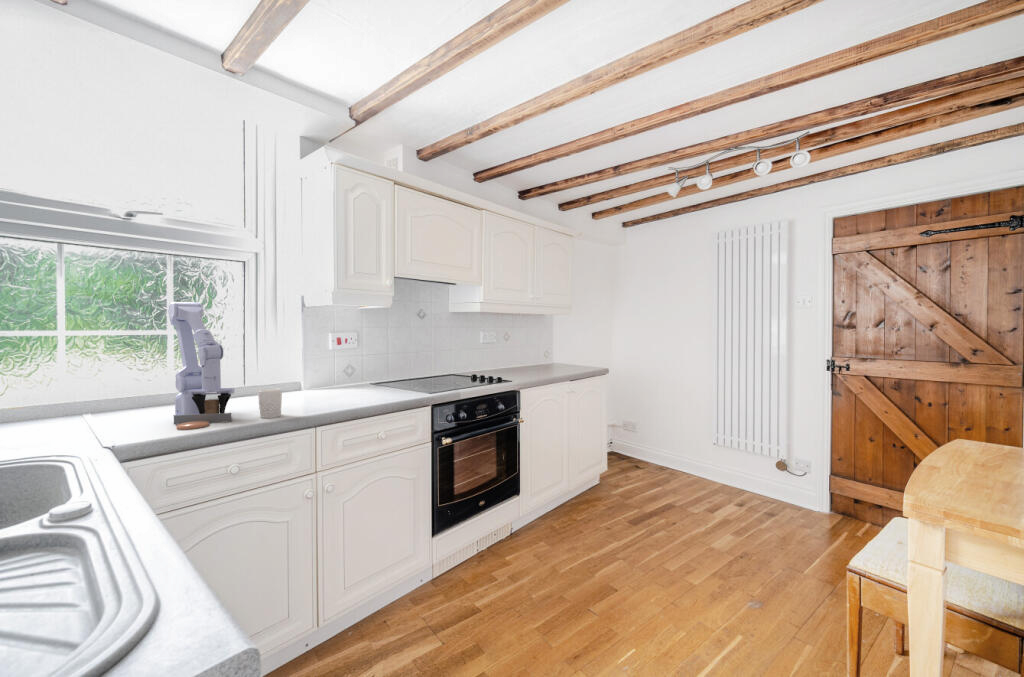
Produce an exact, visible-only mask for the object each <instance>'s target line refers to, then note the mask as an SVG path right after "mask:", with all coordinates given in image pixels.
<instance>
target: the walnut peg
mask: <svg viewBox="0 0 1024 677" xmlns="http://www.w3.org/2000/svg"><path fill="white" fill-rule="evenodd" d="M216 413H220V412H219V400H218V399H217V398H213V399H205V414H216Z"/></svg>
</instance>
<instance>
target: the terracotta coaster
mask: <svg viewBox="0 0 1024 677" xmlns="http://www.w3.org/2000/svg"><path fill="white" fill-rule="evenodd" d="M175 425H176V430H180V431H181V430H182V431H187V430H188V431H189V430H196V429H203V428H206V427H208V426H210V423H209V422H208V421H193V422H186V423H181V424H175Z"/></svg>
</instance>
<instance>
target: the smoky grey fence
mask: <svg viewBox="0 0 1024 677" xmlns="http://www.w3.org/2000/svg"><path fill="white" fill-rule="evenodd" d="M173 415H174V416H173V425H178V424H181V423H186V422H193V421H208V422H209V424H211V423H212V424H213V423H231V422H232V412H227V413H226V412H225V413H220V412H219V413H216V414H189V415H175V414H173Z"/></svg>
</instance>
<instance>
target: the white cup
mask: <svg viewBox="0 0 1024 677" xmlns="http://www.w3.org/2000/svg"><path fill="white" fill-rule="evenodd" d="M282 394H283V389H282V388H264V389H260V390H258V391H257V395H258V406H259V407H258V408H259V415H260V416H259V417H260V418H261V419H272V418H278V417H281V415H282V399H283V398H282V397H283V395H282Z"/></svg>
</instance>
